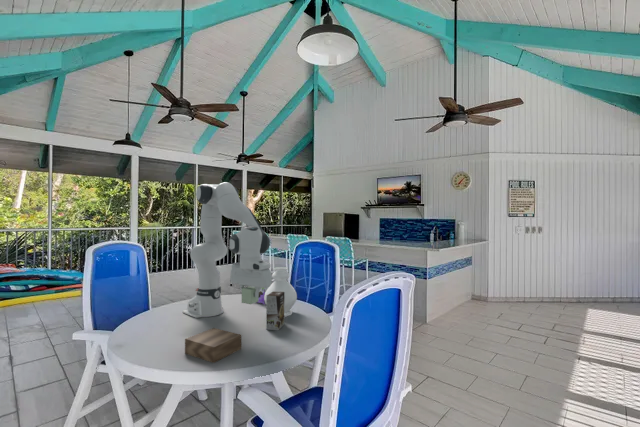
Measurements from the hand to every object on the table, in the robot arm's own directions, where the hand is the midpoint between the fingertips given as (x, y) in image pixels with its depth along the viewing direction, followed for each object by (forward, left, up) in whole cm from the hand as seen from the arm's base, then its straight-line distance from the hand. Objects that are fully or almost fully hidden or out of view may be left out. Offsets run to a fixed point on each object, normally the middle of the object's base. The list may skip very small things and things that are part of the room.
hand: (250, 296), depth 134 cm
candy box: (-36, +51, -19) cm, 65 cm away
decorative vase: (-11, +37, -19) cm, 43 cm away
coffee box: (-1, +19, -19) cm, 27 cm away
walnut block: (-6, -15, -20) cm, 25 cm away
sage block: (0, 0, -3) cm, 3 cm away
